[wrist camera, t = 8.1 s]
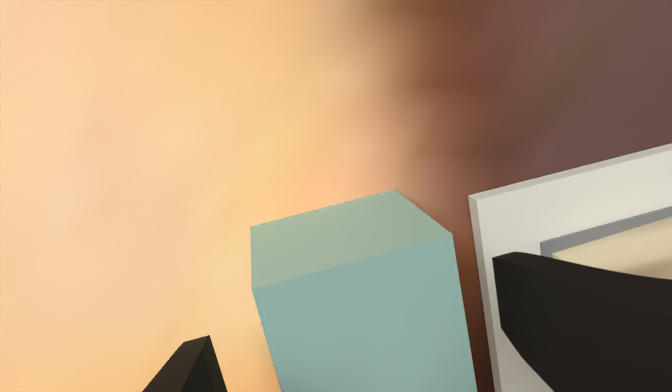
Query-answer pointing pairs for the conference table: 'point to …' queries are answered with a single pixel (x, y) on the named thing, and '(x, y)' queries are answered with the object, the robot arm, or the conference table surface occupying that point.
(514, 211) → the white flat square plate
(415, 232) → the teal cube
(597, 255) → the maple cube
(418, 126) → the conference table surface
